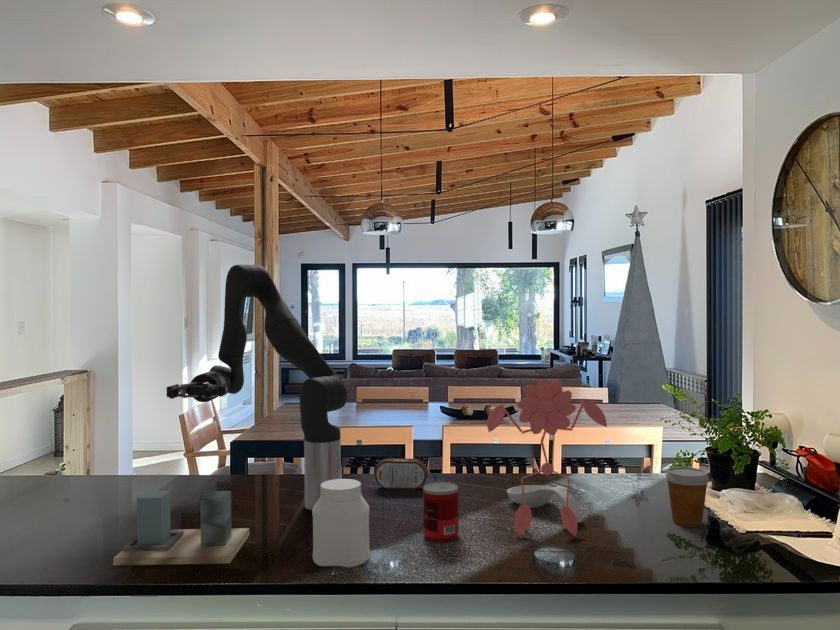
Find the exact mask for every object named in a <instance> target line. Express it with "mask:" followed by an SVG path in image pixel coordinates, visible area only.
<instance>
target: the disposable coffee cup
mask: <svg viewBox="0 0 840 630" xmlns="http://www.w3.org/2000/svg"><path fill="white" fill-rule="evenodd" d="M664 475H665V478H666V480H667V486H668V493H669V500H670V509H671V516H672V522H673V523H674V524H676V525H678V526H682V527H686V528H687V527H689V528H695V527H696V528H697V527H700V526H702V525H703V517H704V511H705V505H706V503H705V502H706V495H707V488H708V483H709V481H710V478H709V475H708V472H707V471H705V470H703V469H701V468H700V469H699V468H695V467H690V466H673V467H669V468H668V469H667V470H666V473H665V474H664Z"/></svg>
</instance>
